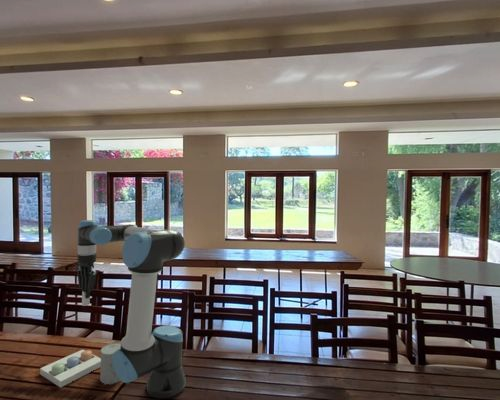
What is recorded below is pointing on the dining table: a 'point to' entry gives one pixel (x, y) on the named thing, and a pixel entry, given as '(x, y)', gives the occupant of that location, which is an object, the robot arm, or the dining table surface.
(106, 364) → the light grey cylinder
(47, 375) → the panel
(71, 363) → the slate button
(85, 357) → the terracotta button
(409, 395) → the dining table surface
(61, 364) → the sage button
